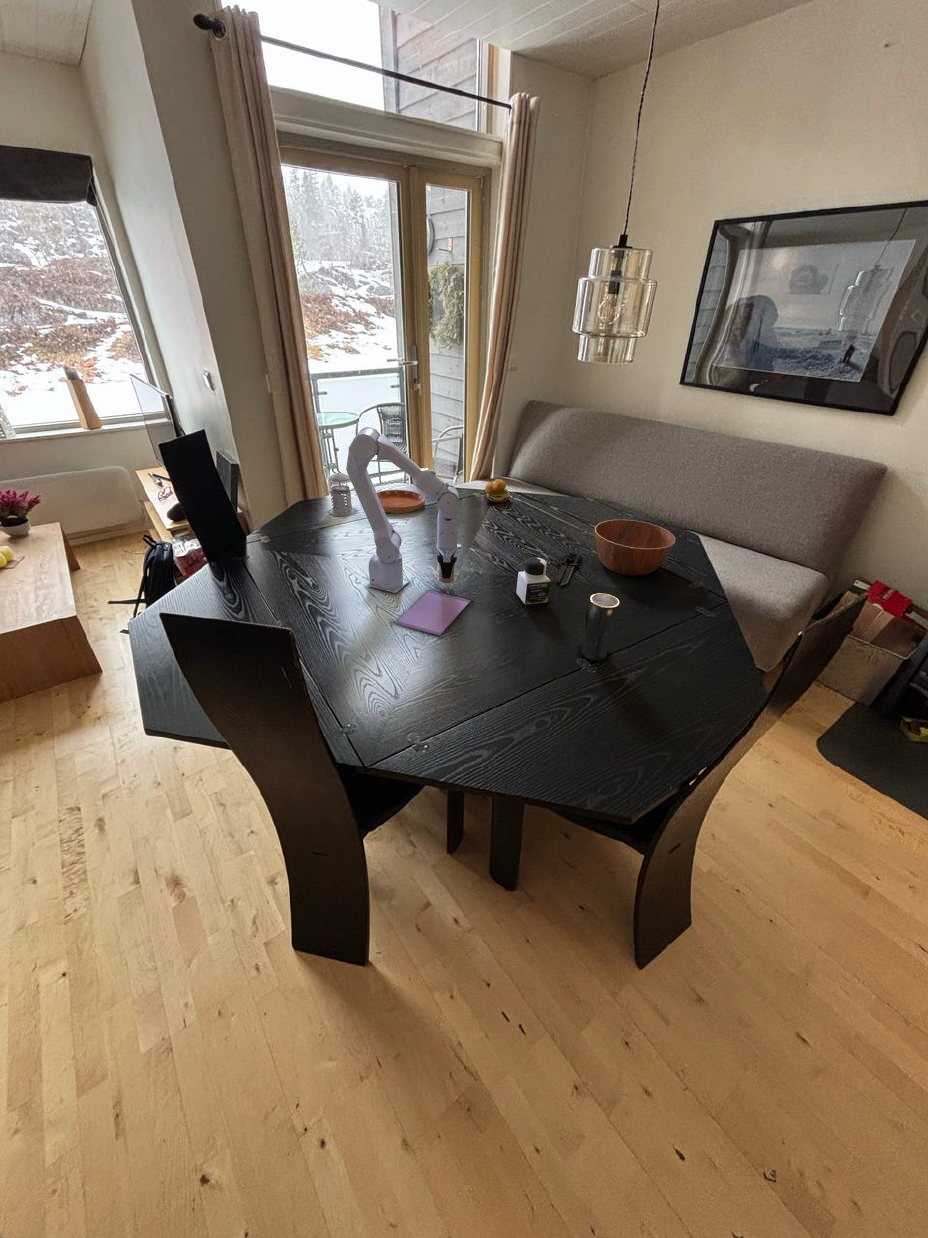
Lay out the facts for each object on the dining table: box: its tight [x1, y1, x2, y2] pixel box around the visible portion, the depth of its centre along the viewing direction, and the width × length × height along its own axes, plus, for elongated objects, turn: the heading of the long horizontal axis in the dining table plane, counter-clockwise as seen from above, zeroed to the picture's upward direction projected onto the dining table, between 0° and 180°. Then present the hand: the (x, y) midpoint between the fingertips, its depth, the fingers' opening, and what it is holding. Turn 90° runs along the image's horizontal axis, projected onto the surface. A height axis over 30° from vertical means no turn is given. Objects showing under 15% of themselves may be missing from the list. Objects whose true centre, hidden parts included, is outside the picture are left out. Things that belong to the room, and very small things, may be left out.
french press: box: [327, 447, 356, 517], centre depth 193 cm, size 10×12×25 cm
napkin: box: [394, 590, 471, 637], centre depth 136 cm, size 13×20×1 cm, turn 156°
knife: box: [554, 551, 581, 586], centre depth 161 cm, size 25×6×1 cm, turn 154°
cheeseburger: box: [484, 478, 510, 504], centre depth 217 cm, size 10×11×10 cm
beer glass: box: [580, 593, 620, 662], centre depth 118 cm, size 7×7×15 cm
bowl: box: [594, 519, 676, 577], centre depth 163 cm, size 25×25×11 cm
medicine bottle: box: [515, 557, 551, 606], centre depth 142 cm, size 7×7×12 cm
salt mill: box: [438, 563, 455, 584], centre depth 146 cm, size 4×4×8 cm
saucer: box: [376, 489, 426, 514], centre depth 207 cm, size 23×23×4 cm
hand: (446, 574), depth 147 cm, fingers closed on salt mill, 4 cm apart
